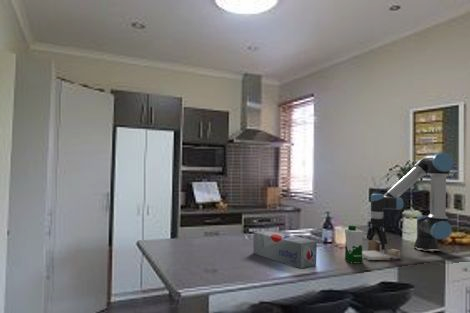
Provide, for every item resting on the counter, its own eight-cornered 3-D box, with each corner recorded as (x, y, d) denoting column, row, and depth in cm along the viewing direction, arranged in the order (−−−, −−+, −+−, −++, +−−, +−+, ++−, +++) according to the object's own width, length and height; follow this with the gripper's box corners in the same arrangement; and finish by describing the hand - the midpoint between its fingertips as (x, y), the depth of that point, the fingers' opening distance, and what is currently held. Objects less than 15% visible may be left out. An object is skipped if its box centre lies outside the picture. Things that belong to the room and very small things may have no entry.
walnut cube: (377, 251, 233) (378, 240, 233) (384, 254, 226) (384, 243, 226) (368, 251, 231) (368, 240, 232) (374, 254, 225) (375, 243, 225)
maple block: (392, 257, 219) (392, 248, 219) (399, 258, 215) (399, 250, 215) (387, 258, 216) (387, 249, 216) (394, 259, 212) (395, 251, 212)
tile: (376, 254, 224) (376, 250, 224) (390, 260, 211) (390, 256, 211) (356, 255, 221) (356, 251, 221) (369, 261, 207) (369, 256, 208)
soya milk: (355, 259, 211) (356, 225, 211) (365, 263, 202) (365, 227, 203) (342, 260, 208) (343, 225, 209) (351, 264, 200) (352, 228, 200)
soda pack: (317, 266, 194) (317, 240, 195) (300, 270, 187) (301, 243, 187) (267, 251, 227) (268, 229, 228) (252, 253, 220) (252, 230, 220)
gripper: (361, 215, 240) (360, 248, 239) (383, 220, 217) (382, 257, 217) (371, 215, 242) (370, 248, 241) (393, 220, 219) (393, 256, 218)
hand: (376, 252), depth 229 cm, fingers open, 11 cm apart
